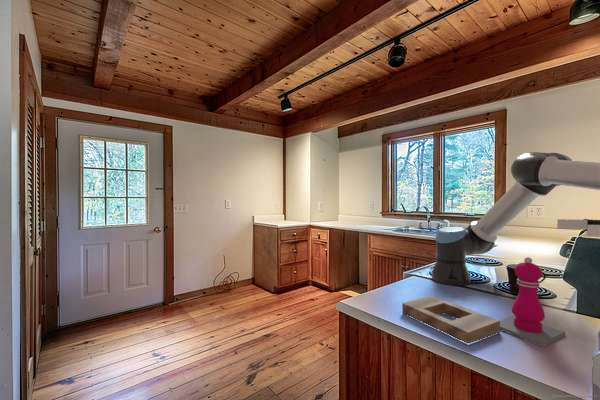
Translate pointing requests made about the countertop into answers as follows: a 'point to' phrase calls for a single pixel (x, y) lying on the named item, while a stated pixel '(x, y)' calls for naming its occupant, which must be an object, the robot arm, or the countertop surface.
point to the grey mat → (538, 338)
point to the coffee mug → (515, 278)
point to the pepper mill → (528, 298)
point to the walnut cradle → (463, 328)
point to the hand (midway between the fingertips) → (571, 226)
